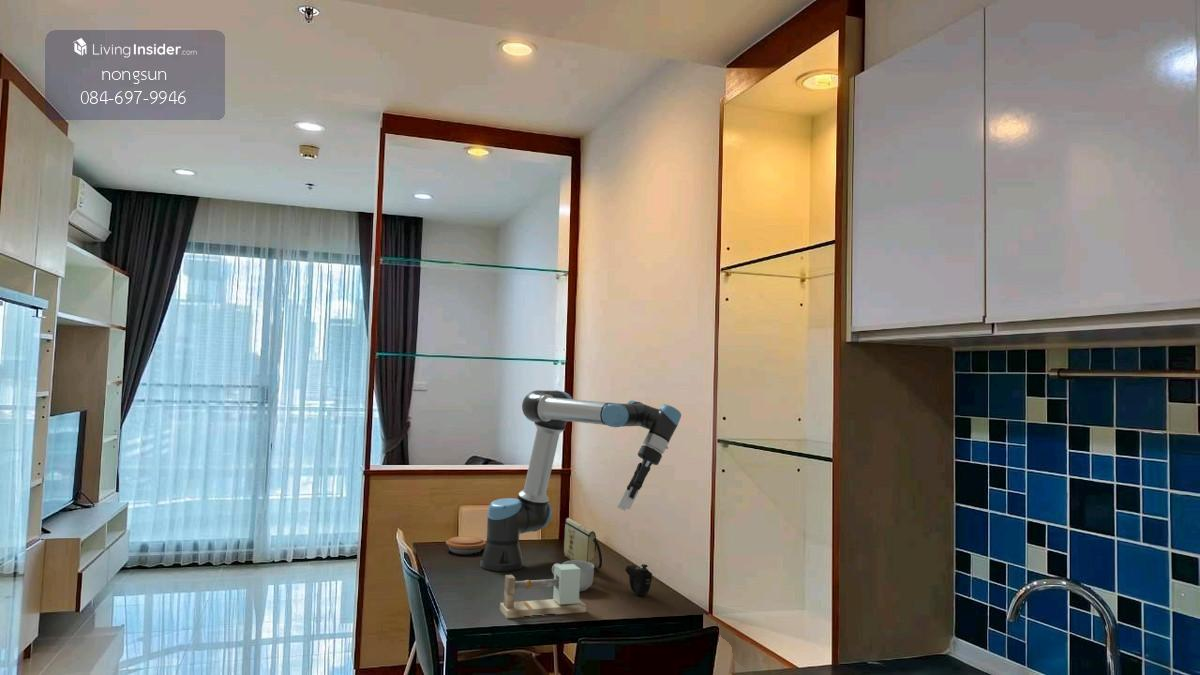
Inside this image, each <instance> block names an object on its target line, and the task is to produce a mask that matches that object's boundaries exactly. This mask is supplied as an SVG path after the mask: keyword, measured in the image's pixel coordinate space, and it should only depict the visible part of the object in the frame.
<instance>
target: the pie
mask: <svg viewBox="0 0 1200 675" xmlns="http://www.w3.org/2000/svg"><path fill="white" fill-rule="evenodd" d="M486 543H487V541H486V540H483V538H481V537H477V536H471V535H460V536H453V537H450V538H449V539H447V540H446V541H445V544H446V545H447V546H448V548H449V550H450V552H451V553H453V554H455V555H457V554H458V555H473V554H472V553H476V554H478V553H477V552H479V553H480V552H481V551H482V549H483V547H485V546H486Z"/></svg>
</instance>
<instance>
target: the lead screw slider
mask: <svg viewBox="0 0 1200 675" xmlns="http://www.w3.org/2000/svg"><path fill="white" fill-rule="evenodd" d="M580 582H581V581H580ZM554 586H559V579H554V578H550V579H548V578H546V579H536V580H535V579H533V580H531V579H525V580H516V577H515V576H514V575H513V574H505V575H504V592H503V602H499V611H500V612H501V613H502V615H503V616H504V617H505V618H506V619H514V618H515V619H516V618H525V617H524V616H530V617H533V616H532V615H542V616H547V615H546V614H555V615H564V614H565V615H568V614H579V613H587V604H585V602H583V601H582V600H581V599H579V603H576V604H562V605H559V604H558V603H557V602H556V601H555V600H554V599H553V598H550V599H549V598H548V599H538V600H536V599H535V600H521V601H515V590H516V589H517V590H518V589H525V590H526V589H528V590H529V589H532V588H545V587H547V588H548V587H554ZM544 614H545V615H544Z"/></svg>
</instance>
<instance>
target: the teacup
mask: <svg viewBox="0 0 1200 675" xmlns="http://www.w3.org/2000/svg"><path fill="white" fill-rule="evenodd" d="M562 564H574V565H576V566H577V567H579V568H580V581H581V582H580V589H579V592H585V591H586V590H588V589H589V588H590V587H591V586H592V585H593V583H594V576H595V575H594V573H595V567H594V566H595V563H594V564H592V563H590V562H586V561H580V560H567V561H564V562H563V563H554V564H553V565H552V567H551V572H552V574H553V576H554V569H555V565H562Z"/></svg>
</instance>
